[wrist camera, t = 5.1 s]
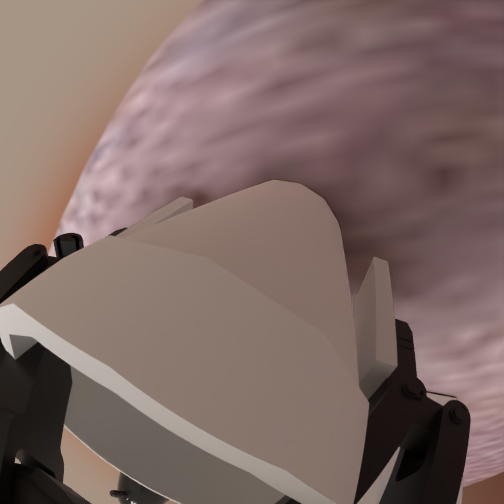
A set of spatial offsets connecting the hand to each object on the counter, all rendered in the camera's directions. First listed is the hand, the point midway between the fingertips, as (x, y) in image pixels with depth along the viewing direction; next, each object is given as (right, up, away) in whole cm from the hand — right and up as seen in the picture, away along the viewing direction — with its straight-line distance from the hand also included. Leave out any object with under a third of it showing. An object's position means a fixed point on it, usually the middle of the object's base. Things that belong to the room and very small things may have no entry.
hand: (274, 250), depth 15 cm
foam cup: (+1, +1, +1) cm, 2 cm away
